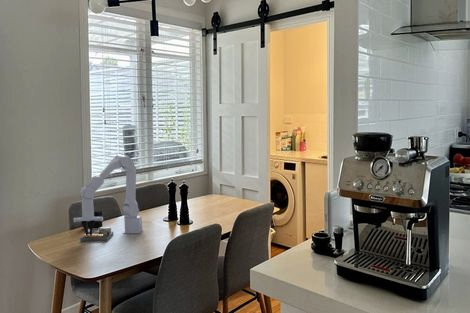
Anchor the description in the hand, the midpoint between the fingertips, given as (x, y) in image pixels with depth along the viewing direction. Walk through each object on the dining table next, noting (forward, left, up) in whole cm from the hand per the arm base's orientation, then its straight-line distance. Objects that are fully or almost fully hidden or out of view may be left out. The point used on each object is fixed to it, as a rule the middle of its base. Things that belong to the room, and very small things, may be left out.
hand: (89, 234), depth 215 cm
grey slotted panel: (-3, -3, -3) cm, 5 cm away
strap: (-3, 0, -1) cm, 3 cm away
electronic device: (+6, -24, -3) cm, 25 cm away
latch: (+1, -4, -1) cm, 4 cm away
